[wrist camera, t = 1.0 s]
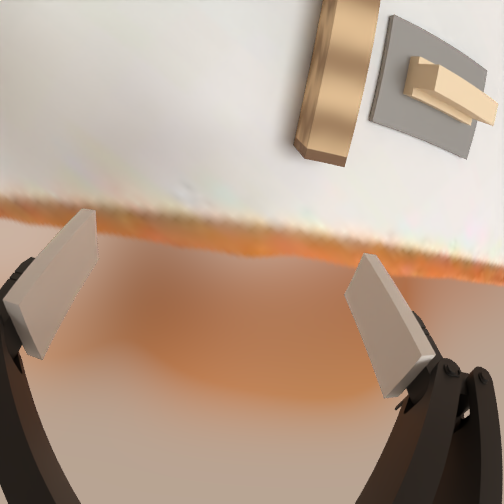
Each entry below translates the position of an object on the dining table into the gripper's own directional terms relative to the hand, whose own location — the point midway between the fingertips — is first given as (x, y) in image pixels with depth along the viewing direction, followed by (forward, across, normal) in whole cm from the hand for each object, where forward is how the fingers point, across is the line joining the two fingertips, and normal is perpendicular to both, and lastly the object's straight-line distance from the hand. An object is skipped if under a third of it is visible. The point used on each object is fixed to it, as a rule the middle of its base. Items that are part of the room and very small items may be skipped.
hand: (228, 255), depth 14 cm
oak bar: (+20, +8, +12) cm, 25 cm away
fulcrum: (+20, +22, +15) cm, 33 cm away
